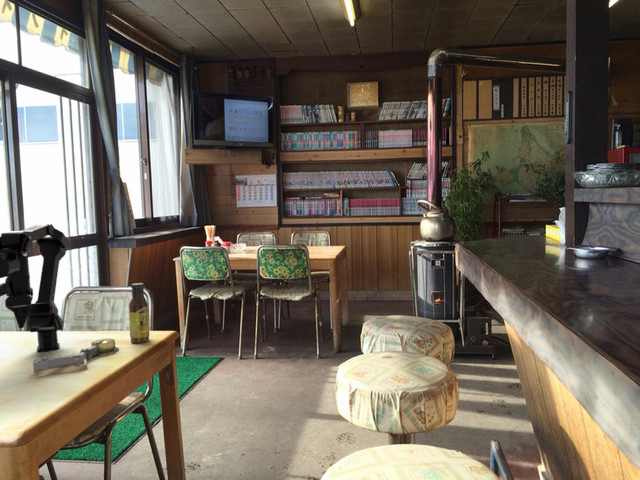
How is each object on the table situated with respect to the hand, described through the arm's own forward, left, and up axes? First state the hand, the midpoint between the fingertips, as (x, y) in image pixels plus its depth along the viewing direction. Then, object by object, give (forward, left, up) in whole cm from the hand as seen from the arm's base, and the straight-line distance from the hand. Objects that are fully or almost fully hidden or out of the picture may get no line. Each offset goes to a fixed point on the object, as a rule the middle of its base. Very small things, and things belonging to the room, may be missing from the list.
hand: (22, 324), depth 149 cm
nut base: (0, +22, -12) cm, 25 cm away
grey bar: (+13, +10, -11) cm, 20 cm away
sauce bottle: (-6, +34, -12) cm, 36 cm away
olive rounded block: (+2, +20, -11) cm, 23 cm away
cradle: (+13, +10, -12) cm, 20 cm away
